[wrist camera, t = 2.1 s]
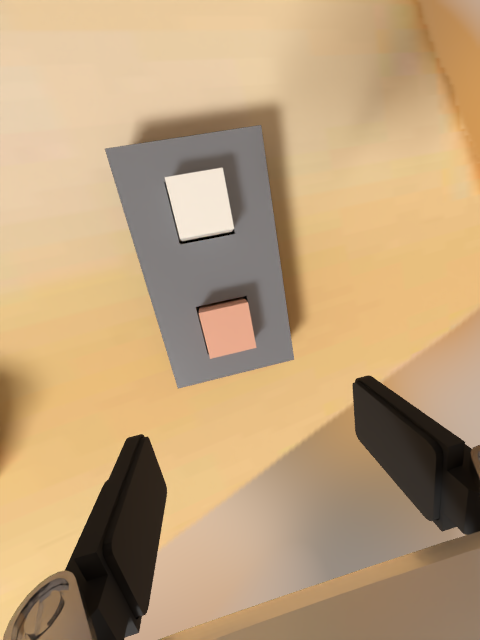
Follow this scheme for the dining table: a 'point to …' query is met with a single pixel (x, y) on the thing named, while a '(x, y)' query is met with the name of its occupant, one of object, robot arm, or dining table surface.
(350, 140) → the dining table surface
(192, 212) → the ivory key
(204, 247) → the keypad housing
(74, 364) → the dining table surface
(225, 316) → the terracotta key
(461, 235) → the dining table surface
